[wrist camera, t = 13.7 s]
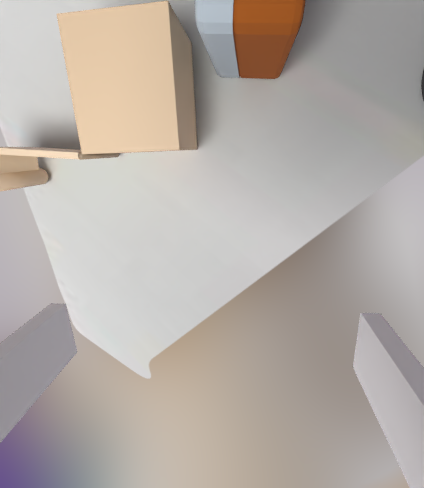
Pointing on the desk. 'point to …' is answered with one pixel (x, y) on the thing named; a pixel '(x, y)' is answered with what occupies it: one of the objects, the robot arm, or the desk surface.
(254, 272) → the desk surface
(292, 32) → the grey rounded slab
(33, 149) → the flap
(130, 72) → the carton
